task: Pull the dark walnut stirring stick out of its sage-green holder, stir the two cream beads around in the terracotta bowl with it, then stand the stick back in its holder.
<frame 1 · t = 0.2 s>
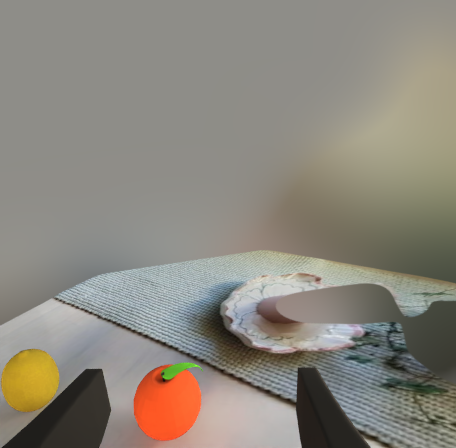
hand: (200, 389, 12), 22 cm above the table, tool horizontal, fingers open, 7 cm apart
lemon: (40, 408, 38), on the table
clementine: (176, 424, 35), on the table
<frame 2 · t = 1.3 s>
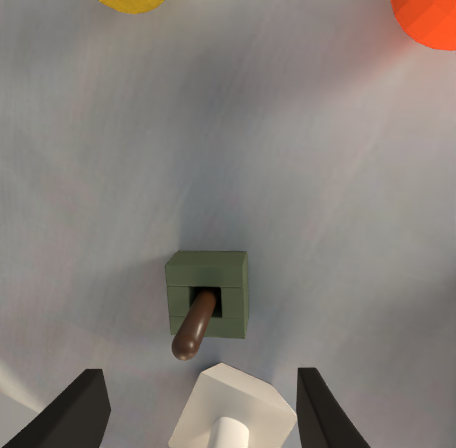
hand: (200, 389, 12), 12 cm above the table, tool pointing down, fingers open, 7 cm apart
holder: (213, 283, 24), on the table
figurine: (236, 391, 27), on the table
stick: (200, 311, 20), in the holder
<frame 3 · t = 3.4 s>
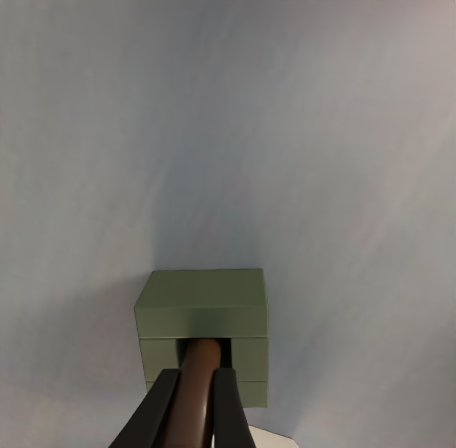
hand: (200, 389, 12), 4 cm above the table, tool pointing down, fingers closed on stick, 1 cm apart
holder: (210, 315, 16), on the table
stick: (199, 373, 12), in the holder, tilted 7°, touching gripper
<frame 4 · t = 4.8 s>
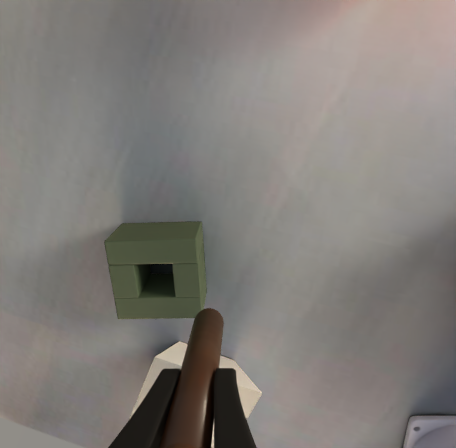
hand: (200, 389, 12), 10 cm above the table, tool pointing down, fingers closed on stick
holder: (165, 258, 22), on the table
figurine: (197, 369, 25), on the table
stick: (199, 373, 12), point 10 cm above the table, tilted 8°, touching gripper
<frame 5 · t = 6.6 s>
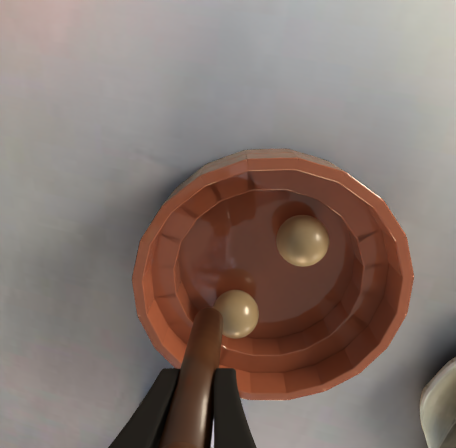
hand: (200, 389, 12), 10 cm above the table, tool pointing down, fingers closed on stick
bead a: (235, 313, 21), point 2 cm above the table, touching bowl
bead b: (302, 240, 19), point 2 cm above the table, touching bowl
stick: (199, 372, 12), point 10 cm above the table, tilted 7°, touching gripper
bowl: (264, 263, 22), on the table
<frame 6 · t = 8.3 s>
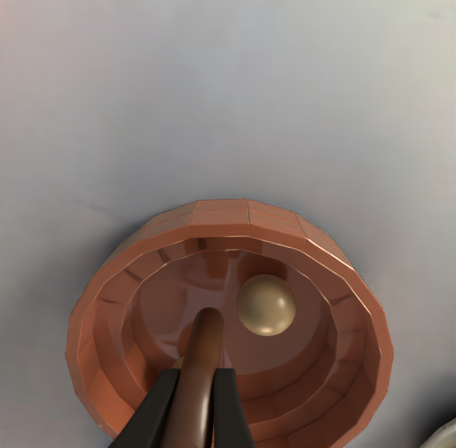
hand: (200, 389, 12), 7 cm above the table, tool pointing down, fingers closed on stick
bead b: (266, 304, 16), point 2 cm above the table, touching bowl
stick: (199, 372, 12), point 7 cm above the table, tilted 8°, touching gripper
bowl: (229, 321, 19), on the table
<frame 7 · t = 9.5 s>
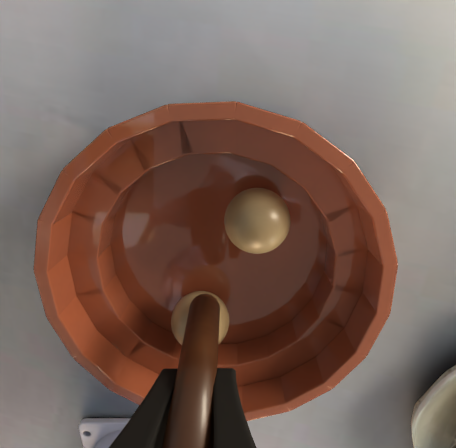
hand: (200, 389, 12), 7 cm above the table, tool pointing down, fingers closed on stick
bead a: (200, 320, 17), point 2 cm above the table, tilted 43°, touching bowl
bead b: (257, 220, 15), point 2 cm above the table, touching bowl
stick: (197, 368, 11), point 7 cm above the table, touching gripper
bowl: (218, 252, 18), on the table
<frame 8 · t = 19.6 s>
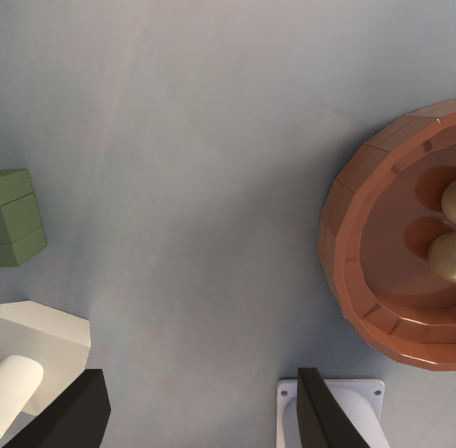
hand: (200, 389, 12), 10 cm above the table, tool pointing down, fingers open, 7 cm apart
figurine: (55, 331, 24), on the table
bowl: (438, 227, 20), on the table
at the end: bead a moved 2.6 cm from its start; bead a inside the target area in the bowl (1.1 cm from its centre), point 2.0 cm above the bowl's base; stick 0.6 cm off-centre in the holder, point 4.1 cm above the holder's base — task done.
